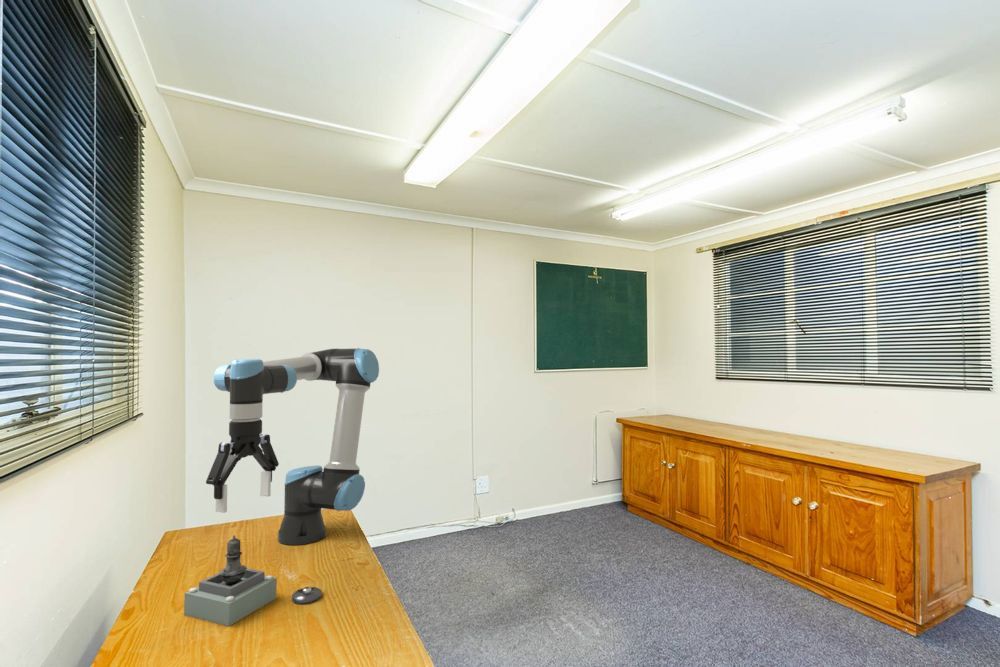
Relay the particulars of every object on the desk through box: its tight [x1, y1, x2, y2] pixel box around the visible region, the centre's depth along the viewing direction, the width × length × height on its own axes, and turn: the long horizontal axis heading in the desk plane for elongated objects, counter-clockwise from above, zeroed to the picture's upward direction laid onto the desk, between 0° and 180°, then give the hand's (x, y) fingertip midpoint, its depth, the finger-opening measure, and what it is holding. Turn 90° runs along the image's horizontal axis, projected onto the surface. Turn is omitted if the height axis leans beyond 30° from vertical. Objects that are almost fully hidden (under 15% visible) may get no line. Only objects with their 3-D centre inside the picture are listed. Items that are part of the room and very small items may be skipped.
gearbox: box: [183, 567, 278, 627], centre depth 121 cm, size 14×16×7 cm
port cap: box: [291, 586, 323, 605], centre depth 125 cm, size 7×7×2 cm
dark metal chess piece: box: [218, 534, 248, 587], centre depth 121 cm, size 6×6×12 cm
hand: (244, 503), depth 125 cm, fingers open, 13 cm apart
